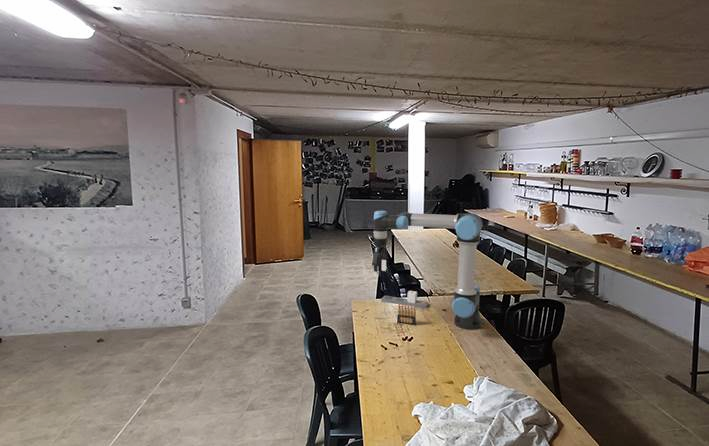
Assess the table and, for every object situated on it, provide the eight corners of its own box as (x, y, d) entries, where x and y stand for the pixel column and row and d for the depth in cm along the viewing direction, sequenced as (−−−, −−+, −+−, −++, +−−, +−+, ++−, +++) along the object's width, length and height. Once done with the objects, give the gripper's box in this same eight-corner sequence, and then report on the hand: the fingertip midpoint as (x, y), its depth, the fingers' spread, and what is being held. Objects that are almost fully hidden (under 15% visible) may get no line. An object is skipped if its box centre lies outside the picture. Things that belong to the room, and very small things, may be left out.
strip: (447, 309, 249) (447, 303, 248) (445, 313, 242) (445, 307, 242) (384, 299, 265) (384, 294, 265) (381, 303, 259) (381, 298, 259)
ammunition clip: (416, 324, 226) (416, 304, 224) (415, 325, 224) (415, 305, 222) (397, 321, 229) (398, 302, 228) (397, 323, 228) (397, 303, 226)
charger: (416, 303, 255) (417, 291, 254) (414, 305, 251) (415, 293, 250) (409, 302, 257) (409, 290, 256) (407, 304, 253) (407, 292, 252)
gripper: (381, 233, 239) (381, 267, 242) (366, 241, 216) (366, 278, 220) (393, 234, 236) (392, 268, 239) (379, 242, 213) (378, 280, 217)
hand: (380, 273), depth 230 cm, fingers open, 13 cm apart
